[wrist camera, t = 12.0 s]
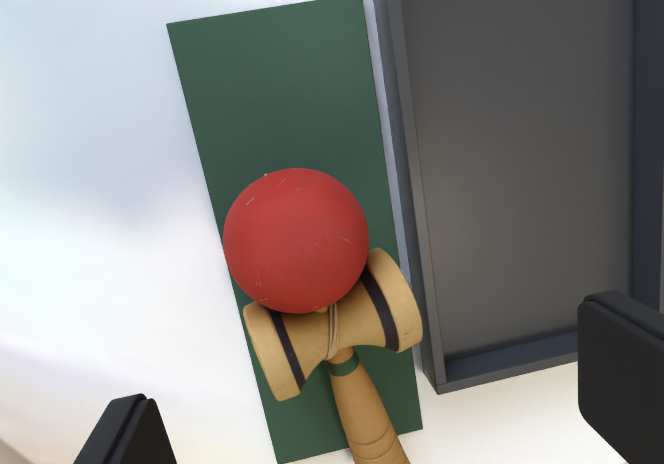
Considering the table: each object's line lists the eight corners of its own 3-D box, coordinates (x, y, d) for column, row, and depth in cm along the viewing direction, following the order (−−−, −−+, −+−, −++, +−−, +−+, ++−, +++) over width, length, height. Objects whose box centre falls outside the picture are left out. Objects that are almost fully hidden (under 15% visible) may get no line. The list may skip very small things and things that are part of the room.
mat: (167, 25, 18) (165, 23, 18) (360, -5, 19) (361, -7, 18) (277, 461, 24) (277, 465, 24) (421, 425, 25) (423, 429, 24)
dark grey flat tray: (359, -100, 18) (370, -129, 16) (643, -139, 19) (687, -171, 17) (423, 373, 24) (437, 395, 22) (636, 322, 25) (668, 339, 23)
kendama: (445, 411, 26) (364, 127, 19) (478, 518, 20) (380, 167, 13) (325, 439, 27) (204, 179, 20) (323, 549, 21) (152, 238, 14)
